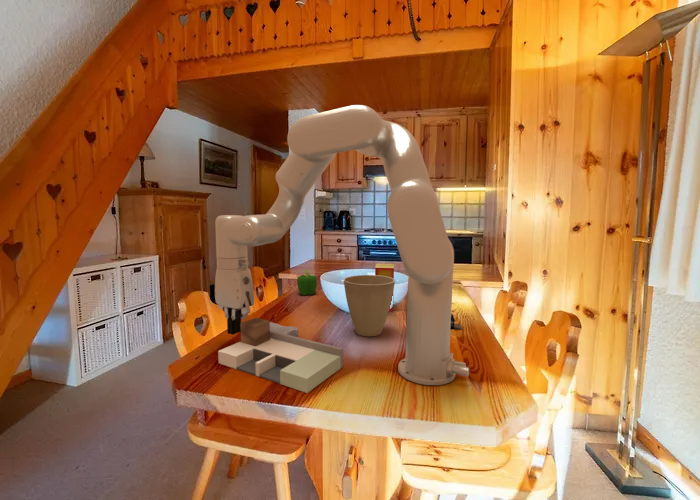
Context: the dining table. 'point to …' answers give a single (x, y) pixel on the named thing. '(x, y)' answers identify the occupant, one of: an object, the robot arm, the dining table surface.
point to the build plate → (455, 326)
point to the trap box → (285, 360)
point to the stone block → (284, 329)
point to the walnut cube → (255, 331)
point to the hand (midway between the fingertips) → (234, 332)
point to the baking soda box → (385, 272)
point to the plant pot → (369, 302)
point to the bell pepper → (307, 284)
